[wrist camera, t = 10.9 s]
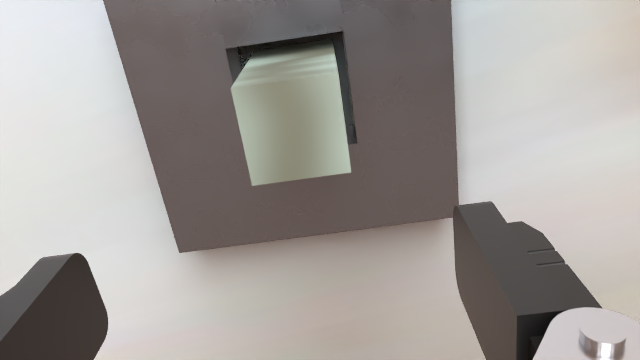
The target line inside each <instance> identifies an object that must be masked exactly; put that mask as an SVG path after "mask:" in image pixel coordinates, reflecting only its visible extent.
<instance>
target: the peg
mask: <svg viewBox="0 0 640 360" xmlns="http://www.w3.org/2000/svg"><path fill="white" fill-rule="evenodd" d="M231 92H232V97H233V101H234V106H235V110H236V115H237V119H238V124H239V129H240V133H241V138H242V142H243V147H244V151H245V156H246V160H247V165H248V169H249V174H250V178H251V183H252V186H255V185H262V184H270V183H277V182H285V181H292V180H299V179H307V178H314V177H321V176H329V175H336V174H343V173H351V166H350V158H349V150H348V143H347V135H346V127H345V120H344V112H343V105H342V97H341V89H340V82H339V74H338V68H337V63H336V57H335V52H334V47H333V41H332V39H328V40H321V41H315V42H308V43H301V44H295V45H288V46H282V47H275V48H268V49H262V50H255V51H254V52H253V54H252V56H251V57H250V59H249V60H248V62H247V63H246V65H245V67H244V68H243V70H242V71H241V73H240V74H239V76H238V78H237V79H236V81H235V82H234V84H233V85H232V87H231Z"/></svg>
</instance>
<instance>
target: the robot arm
mask: <svg viewBox="0 0 640 360" xmlns="http://www.w3.org/2000/svg"><path fill="white" fill-rule="evenodd" d="M453 226H454V250H455V271H456V279H457V285H458V289H459V293H460V297H461V299H462V302H463V304H464V307H465V309H466V312H467V314H468V317H469V319H470V321H471V324H472V326H473V329H474V331H475V334H476V336H477V338H478V341H479V343H480V346H481V348H482V351H483V353H484V355H485V358H486V360H640V323H639V322H638V321H636V320H634V319H632V318H631V317H628V316H626V315H624V314H621V313H618V312H615V311H612V310H607V309H603V308H602V307H601V306H600V305H599V303H598V302H597V301H596V300H595V298H594V297H593V296H592V295H591V293H590V292H589V291H588V290H587V288H586V287H585V286H584V285H583V283H582V282H581V281H580V280H579V278H578V277H577V276H576V275H575V273H574V272H573V271H572V270H571V268H570V267H569V266H568V265H567V264H566V265H565V261H564V260H563V258H562V257H561V256H560V254H559V253H558V252H557V251H555V249H554V247H553V246H552V244H551V243H550V242H549V241H548V239H547V238H546V237H545V236H544V234H543V233H541V232H540V231H538V230H536V229H534V228H532V227H531V226H529V225H527V224H525V223H524V222H522V221H521V222H512V223H507V222H506V221H505V219H504V218H503V217H502V215H501V214H500V212H499V211H498V209H497V208H496V207H495V205H494V204H493V203H492V202H491V201H489V202H481V203H474V204H466V205H458V206H455V207H454V210H453ZM107 330H108V316H107V311H106V308H105V306H104V303H103V300H102V298H101V295H100V293H99V290H98V287H97V285H96V282H95V280H94V277H93V275H92V272H91V269H90V267H89V264H88V262H87V260H86V258H85V257H84V256H83V255H82V254H79V253H74V254H66V255H58V256H50V257H43V258H41V259H40V260H39V261H38V262H37V263H36V264H35V265H34V266H33V267H32V268H31V269H30V270H29V271H28V273H27V274H26V275H25V276H24V277H23V278H22V279H21V280H20V281H19V282H18V283H17V284H16V286H14V287H13V288H11V289H10V290H9V291H7V292H6V293H4V294H3V295H1V296H0V360H94V358H95V356H96V354H97V353H98V351H99V349H100V347H101V345H102V344H103V342H104V340H105V338H106V335H107Z"/></svg>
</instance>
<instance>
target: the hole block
mask: <svg viewBox="0 0 640 360" xmlns="http://www.w3.org/2000/svg"><path fill="white" fill-rule="evenodd" d="M103 1H104V5H105V8H106V11H107V15H108V18H109V21H110V24H111V28H112V31H113V34H114V38H115V41H116V44H117V48H118V51H119V54H120V58H121V61H122V64H123V68H124V71H125V74H126V78H127V81H128V84H129V88H130V91H131V94H132V98H133V101H134V104H135V107H136V111H137V114H138V117H139V121H140V124H141V127H142V131H143V134H144V137H145V141H146V144H147V147H148V151H149V154H150V157H151V161H152V164H153V167H154V171H155V174H156V177H157V180H158V184H159V187H160V190H161V194H162V197H163V200H164V204H165V207H166V210H167V214H168V217H169V220H170V224H171V227H172V230H173V234H174V237H175V240H176V244H177V247H178V250H179V253H182V252H190V251H198V250H205V249H213V248H221V247H229V246H236V245H244V244H252V243H259V242H267V241H275V240H282V239H290V238H298V237H305V236H313V235H321V234H328V233H336V232H344V231H351V230H359V229H367V228H374V227H382V226H390V225H398V224H405V223H413V222H421V221H428V220H436V219H444V218H451V217H453V210H454V207H455V206H458V205H459V201H458V175H457V148H456V122H455V96H454V69H453V43H452V17H451V0H103ZM339 31H342V37H343V45H344V53H345V61H346V69H347V78H348V86H349V94H350V102H351V110H352V118H353V125H348V126H345V127H346V135H347V143H348V150H349V158H350V166H351V173H343V174H336V175H329V176H321V177H314V178H307V179H299V180H292V181H285V182H277V183H270V184H262V185H255V186H252V183H251V178H250V174H249V169H248V165H247V160H246V156H245V151H244V147H243V142H242V138H241V133H240V129H239V124H238V119H237V115H236V110H235V106H234V101H233V97H232V92H231V87H232V85H233V84H234V82H235V81H236V79H237V78H238V76H239V74H240V73H241V71H242V70H241V65H240V61H239V56H238V51H237V47H240V46H246V45H253V44H260V43H266V42H273V41H280V40H286V39H293V38H300V37H306V36H313V35H319V34H326V33H333V32H339Z"/></svg>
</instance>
